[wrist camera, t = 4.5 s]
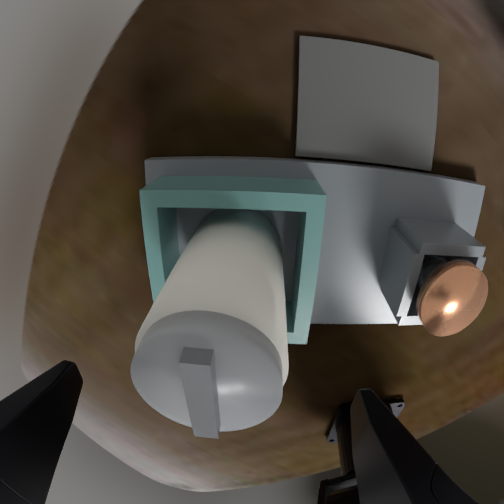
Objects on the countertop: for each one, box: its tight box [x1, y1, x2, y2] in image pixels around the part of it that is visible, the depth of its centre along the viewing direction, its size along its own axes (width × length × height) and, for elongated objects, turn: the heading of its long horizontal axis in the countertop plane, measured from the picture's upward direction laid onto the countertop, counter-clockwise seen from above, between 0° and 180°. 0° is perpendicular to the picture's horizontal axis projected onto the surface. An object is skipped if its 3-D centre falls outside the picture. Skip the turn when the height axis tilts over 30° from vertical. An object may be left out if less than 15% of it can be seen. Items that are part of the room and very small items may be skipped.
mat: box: [295, 36, 439, 171], centre depth 14 cm, size 7×8×1 cm
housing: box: [139, 156, 486, 344], centre depth 16 cm, size 10×20×4 cm, turn 89°
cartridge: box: [131, 208, 289, 439], centre depth 13 cm, size 5×5×11 cm
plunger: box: [416, 254, 488, 336], centre depth 15 cm, size 4×4×5 cm
